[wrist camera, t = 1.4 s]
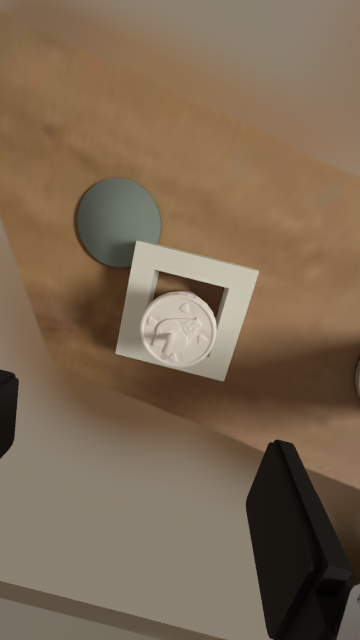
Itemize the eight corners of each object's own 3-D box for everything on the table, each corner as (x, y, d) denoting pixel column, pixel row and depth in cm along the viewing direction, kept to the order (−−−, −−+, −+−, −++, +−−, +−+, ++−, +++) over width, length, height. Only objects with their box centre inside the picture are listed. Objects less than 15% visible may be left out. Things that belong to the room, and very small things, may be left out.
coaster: (169, 190, 28) (168, 189, 28) (151, 275, 31) (150, 276, 30) (85, 170, 28) (83, 168, 28) (74, 256, 31) (72, 256, 30)
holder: (252, 267, 30) (259, 271, 26) (221, 365, 33) (223, 381, 29) (145, 241, 30) (136, 240, 26) (125, 341, 33) (115, 353, 29)
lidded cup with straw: (147, 295, 31) (105, 333, 18) (196, 267, 30) (190, 286, 17) (174, 341, 33) (154, 409, 19) (223, 317, 31) (237, 372, 18)
